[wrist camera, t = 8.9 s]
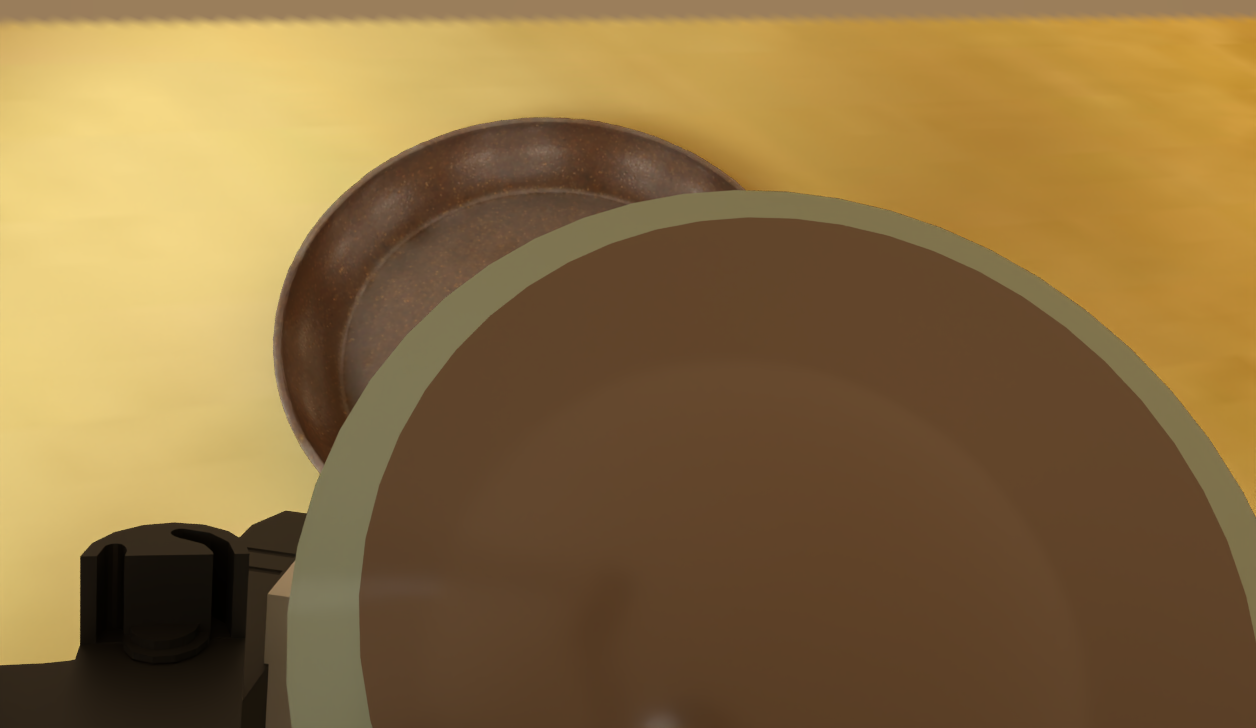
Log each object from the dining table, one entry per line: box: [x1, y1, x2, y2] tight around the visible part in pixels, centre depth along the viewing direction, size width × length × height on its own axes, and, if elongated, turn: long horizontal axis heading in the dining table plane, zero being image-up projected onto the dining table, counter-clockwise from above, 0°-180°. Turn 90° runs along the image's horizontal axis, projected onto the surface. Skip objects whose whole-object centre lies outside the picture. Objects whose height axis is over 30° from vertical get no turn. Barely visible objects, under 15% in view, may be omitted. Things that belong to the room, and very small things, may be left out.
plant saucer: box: [273, 117, 746, 474], centre depth 34 cm, size 18×18×3 cm
